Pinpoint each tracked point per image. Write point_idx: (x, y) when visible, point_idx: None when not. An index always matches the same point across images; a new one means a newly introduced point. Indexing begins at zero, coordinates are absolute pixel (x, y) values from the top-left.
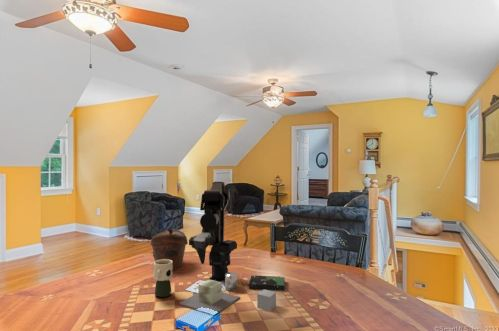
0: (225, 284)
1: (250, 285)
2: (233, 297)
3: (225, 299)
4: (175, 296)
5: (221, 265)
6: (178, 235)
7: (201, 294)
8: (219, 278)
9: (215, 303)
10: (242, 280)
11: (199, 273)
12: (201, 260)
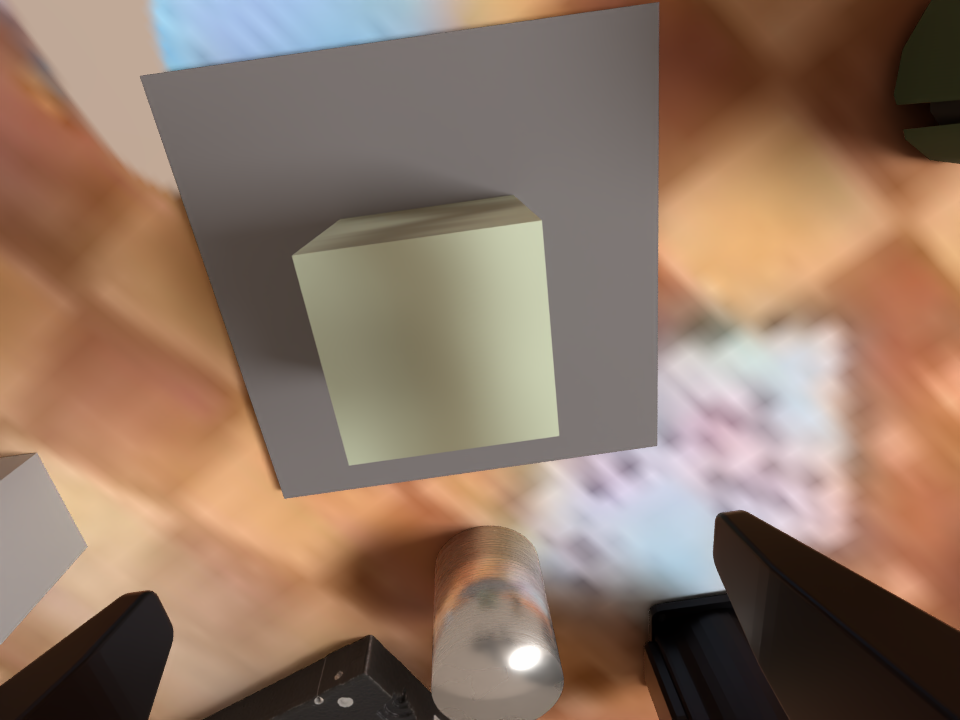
0: (518, 564)
1: (354, 668)
2: (313, 456)
3: None
4: (826, 139)
5: (78, 644)
6: None
7: (479, 209)
8: (685, 627)
9: None
10: None
11: (923, 610)
12: (783, 566)
